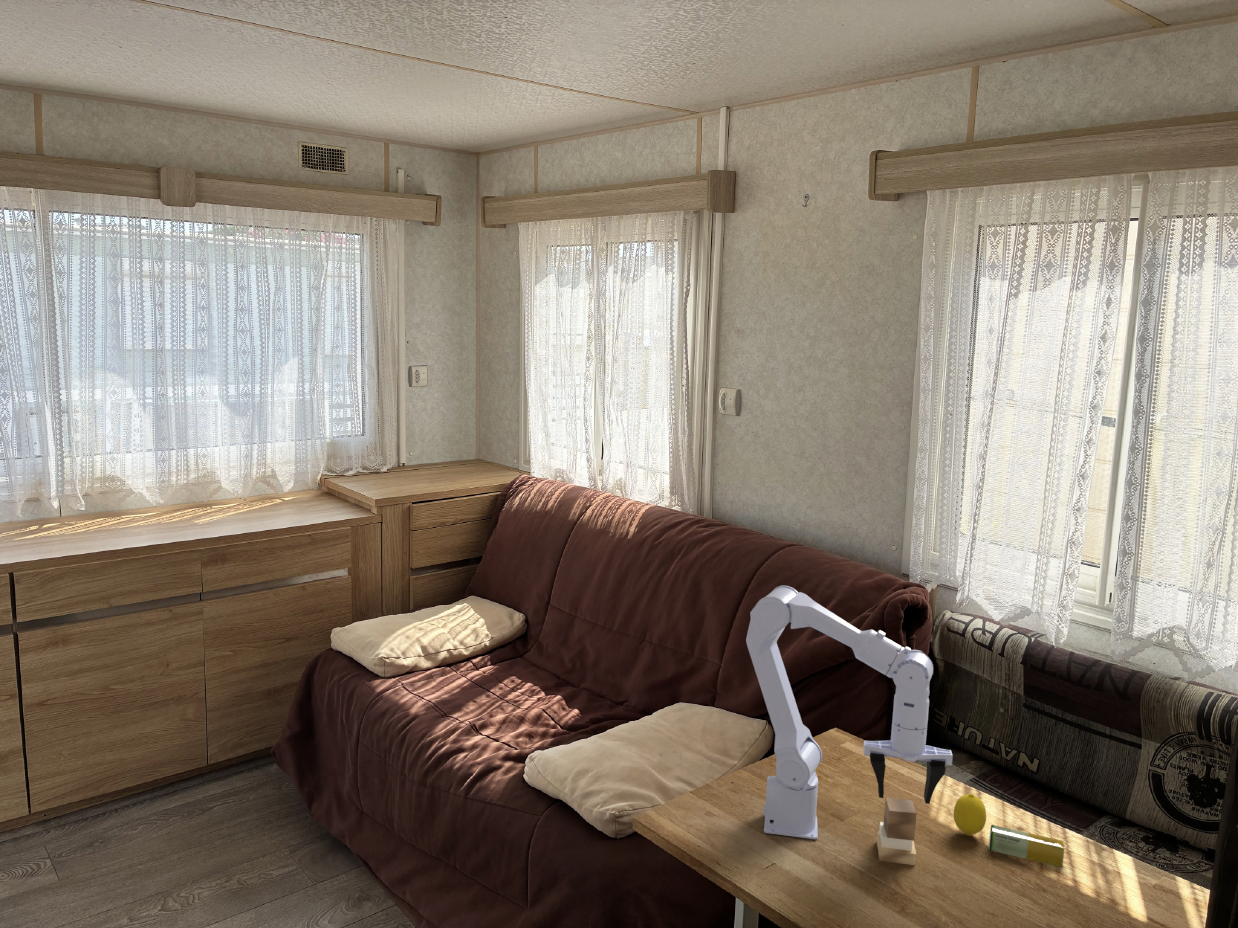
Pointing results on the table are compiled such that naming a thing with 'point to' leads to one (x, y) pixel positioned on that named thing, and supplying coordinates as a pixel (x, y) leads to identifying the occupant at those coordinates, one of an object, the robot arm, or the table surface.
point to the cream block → (893, 841)
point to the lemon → (969, 814)
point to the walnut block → (899, 819)
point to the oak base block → (896, 854)
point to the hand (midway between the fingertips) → (903, 797)
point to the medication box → (1026, 845)
